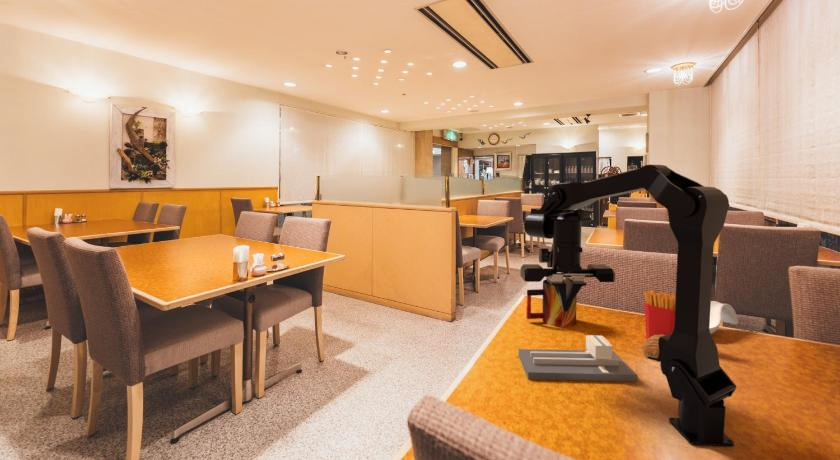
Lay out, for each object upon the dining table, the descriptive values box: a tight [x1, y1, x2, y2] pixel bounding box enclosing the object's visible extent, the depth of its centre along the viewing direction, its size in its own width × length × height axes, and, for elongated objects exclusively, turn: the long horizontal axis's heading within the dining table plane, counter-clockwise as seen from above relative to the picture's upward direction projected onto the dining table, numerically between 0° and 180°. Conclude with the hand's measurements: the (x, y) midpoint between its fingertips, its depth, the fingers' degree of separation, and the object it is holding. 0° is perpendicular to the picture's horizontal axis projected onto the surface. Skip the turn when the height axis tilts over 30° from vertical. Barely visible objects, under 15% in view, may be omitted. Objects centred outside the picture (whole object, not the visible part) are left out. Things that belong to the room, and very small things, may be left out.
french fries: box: [643, 290, 676, 340], centre depth 100 cm, size 9×4×13 cm, turn 33°
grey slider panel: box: [517, 348, 638, 383], centre depth 87 cm, size 12×22×3 cm, turn 85°
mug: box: [525, 278, 578, 328], centre depth 116 cm, size 10×14×12 cm
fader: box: [585, 334, 614, 360], centre depth 86 cm, size 6×4×5 cm, turn 175°
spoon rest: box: [709, 300, 739, 335], centre depth 109 cm, size 24×12×7 cm, turn 116°
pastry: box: [642, 335, 665, 360], centre depth 93 cm, size 9×7×4 cm
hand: (564, 311), depth 86 cm, fingers closed
